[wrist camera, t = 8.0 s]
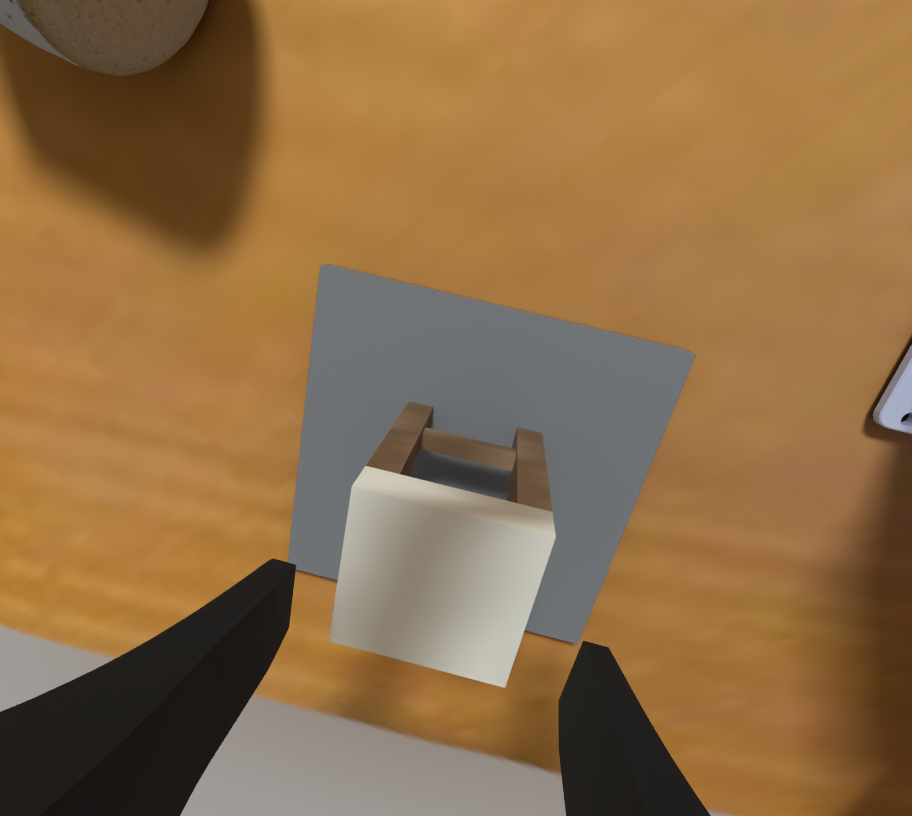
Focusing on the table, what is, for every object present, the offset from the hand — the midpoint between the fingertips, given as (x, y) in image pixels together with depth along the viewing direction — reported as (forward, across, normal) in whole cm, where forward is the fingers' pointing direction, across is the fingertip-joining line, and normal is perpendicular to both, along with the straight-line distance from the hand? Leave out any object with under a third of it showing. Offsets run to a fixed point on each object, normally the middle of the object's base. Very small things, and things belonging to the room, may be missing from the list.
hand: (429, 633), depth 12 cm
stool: (+9, 0, 0) cm, 9 cm away
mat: (+9, 0, 0) cm, 9 cm away
